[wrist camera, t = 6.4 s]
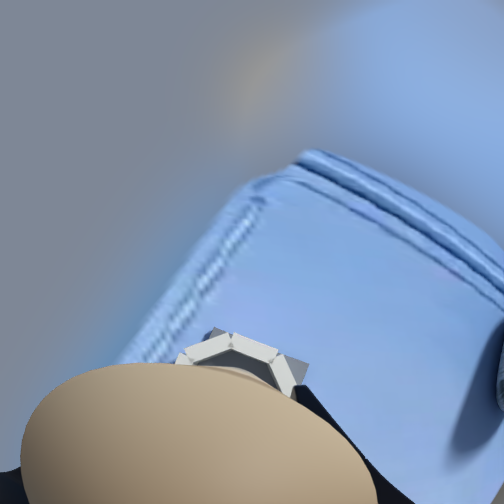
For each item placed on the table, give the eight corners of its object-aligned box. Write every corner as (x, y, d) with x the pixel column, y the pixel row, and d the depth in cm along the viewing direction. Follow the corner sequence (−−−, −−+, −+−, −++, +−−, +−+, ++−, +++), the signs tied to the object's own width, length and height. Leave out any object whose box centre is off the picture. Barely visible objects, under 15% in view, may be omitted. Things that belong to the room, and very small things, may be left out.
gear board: (206, 558, 11) (202, 581, 8) (117, 520, 12) (100, 537, 9) (306, 363, 19) (319, 363, 15) (202, 322, 20) (194, 313, 16)
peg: (265, 444, 13) (331, 618, 1) (185, 434, 13) (45, 564, 1) (274, 371, 14) (406, 377, 2) (194, 361, 14) (27, 320, 2)
